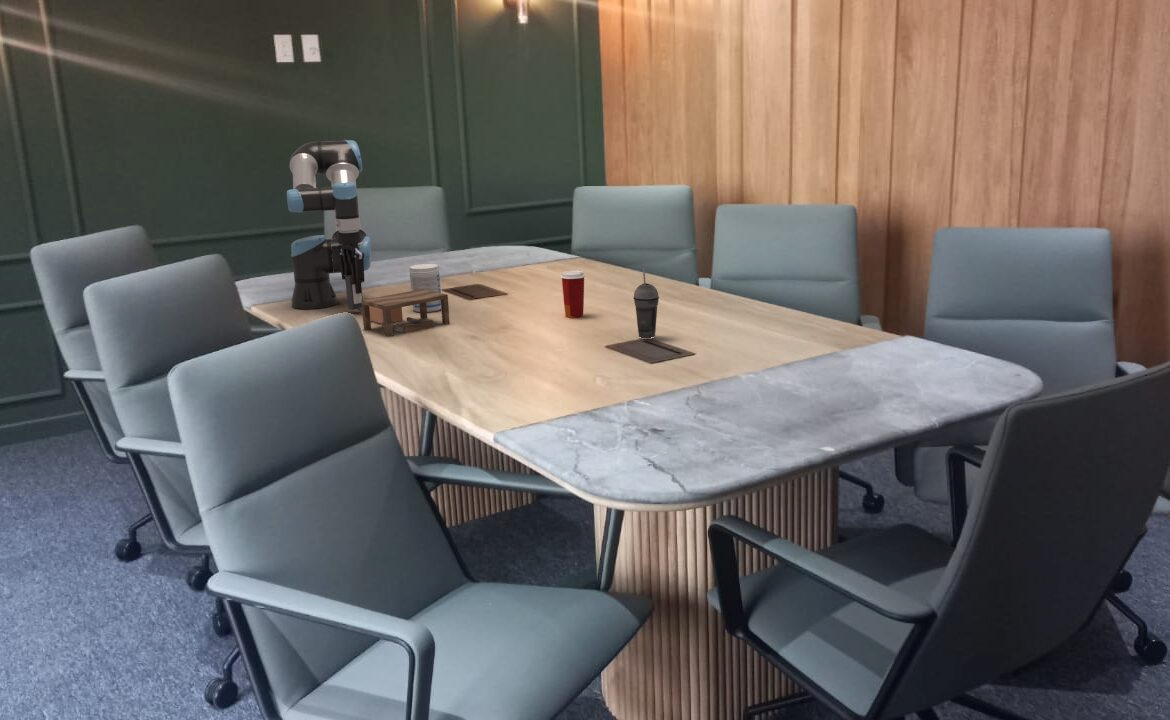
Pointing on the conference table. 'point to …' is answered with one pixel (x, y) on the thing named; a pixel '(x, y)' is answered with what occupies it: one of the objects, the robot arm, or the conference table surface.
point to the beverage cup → (646, 308)
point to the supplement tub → (426, 283)
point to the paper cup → (573, 293)
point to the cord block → (375, 313)
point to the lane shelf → (402, 301)
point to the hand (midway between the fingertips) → (355, 302)
